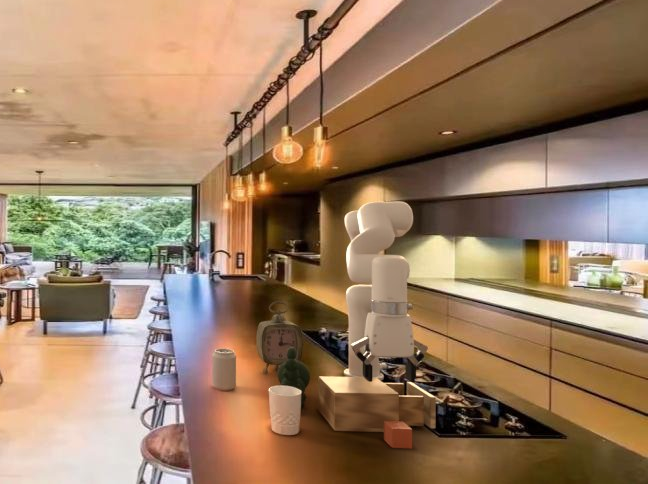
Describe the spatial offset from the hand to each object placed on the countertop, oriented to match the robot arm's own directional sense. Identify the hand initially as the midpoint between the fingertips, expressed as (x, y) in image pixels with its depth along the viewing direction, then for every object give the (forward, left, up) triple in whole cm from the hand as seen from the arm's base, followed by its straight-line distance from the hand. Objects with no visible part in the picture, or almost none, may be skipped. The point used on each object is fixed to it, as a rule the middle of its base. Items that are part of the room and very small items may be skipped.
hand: (389, 380), depth 114 cm
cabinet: (-4, -12, -15) cm, 19 cm away
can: (+11, -50, -15) cm, 53 cm away
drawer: (-14, -6, -14) cm, 20 cm away
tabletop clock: (-17, -56, -15) cm, 60 cm away
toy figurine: (+1, -30, -15) cm, 34 cm away
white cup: (+17, -16, -15) cm, 28 cm away
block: (-1, +2, -15) cm, 15 cm away
